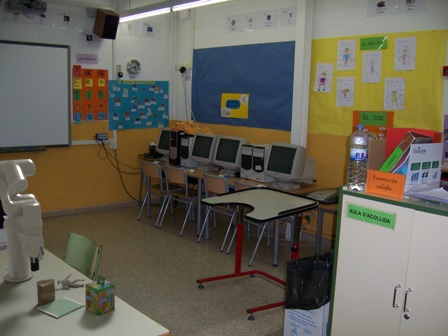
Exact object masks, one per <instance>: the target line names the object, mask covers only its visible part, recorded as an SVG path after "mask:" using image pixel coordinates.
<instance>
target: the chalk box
mask: <svg viewBox="0 0 448 336" xmlns="http://www.w3.org/2000/svg"><path fill="white" fill-rule="evenodd" d="M84 286H85V310H87V311H89V312H91V313H92V314H94V315H96V316H101V315H103V314H106V313H109V312H110V311H113V310H115V308H116V304H115V303H116V299H115V295H116V292H115V291H116V290H115V289H116V285H115V283H114V282H111V281H109V280H107V279H106V277H105V276H103V275H100V274H99V275H97V280H94V281H91V282H88V283H86V284H85V283H84Z"/></svg>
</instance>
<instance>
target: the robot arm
mask: <svg viewBox="0 0 448 336" xmlns="http://www.w3.org/2000/svg"><path fill="white" fill-rule="evenodd" d="M36 169H37V168H36V165H35V163H34V161H33V160H32V159H29V158H26V159H11V160H0V200H1V205H2V206H1V207H2V209H3V212H4V214H6V215H7V218H5V220H4V221H3V229H4V234H5V239H6V249H7V252H6V253H7V265H8V266H7V268H5V270H6V271H7V273H8V274H6V275H5V281H6V282H10V283H21V282H26V281H28V280H31V279H32V278H33V277H34V273H35V272H37V271H39V270H40V262H41V261H42V260H44V255H45V241H44V236H43V219H42V211H41V210H42V209H41V204H40V202H39V201H38V200H37V197H36V196H35V194H33V193H32V194H31V193H23V192H25V190H27V188H28V187H29V182H28V180H27V177H33V176H35V174H36ZM21 193H23V194H21ZM33 272H34V273H33Z"/></svg>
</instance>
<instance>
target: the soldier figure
mask: <svg viewBox="0 0 448 336" xmlns="http://www.w3.org/2000/svg"><path fill="white" fill-rule="evenodd" d="M72 275H73V273H70V274H69V275H67V276H66V277H65V278H63V279H62V280H59V279H57V281H56V282H57V286H59V285H60V284H61V286H62V287H63V288H64V289H65V290H70V289H71V287H81V286H82V287H84V286H85V283H81V284H80V283H79V282H85V281H86V278H83V279H81V278H77V279H76V278H75V279H74V280H70V279H69V278H70V277H72Z"/></svg>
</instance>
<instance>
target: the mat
mask: <svg viewBox="0 0 448 336" xmlns="http://www.w3.org/2000/svg"><path fill="white" fill-rule="evenodd" d="M83 307H85V304H83V303H81V302H79V301H76V300H73V299H72V298H68V297H65V296H62V297H59V298H57V299H55V300H54V301H52V302H50V303H47V304H45V305H41V306H39V307H36V308H35V309H36V310H37V311H39V312H41V313H43V314H46V315H49V316H51V317H53V318H55V319H58V320H59V318H62V317H64V316H65V315H68V314H70V313H72V312H75V311H76V310H78V309H81V308H83Z"/></svg>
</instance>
